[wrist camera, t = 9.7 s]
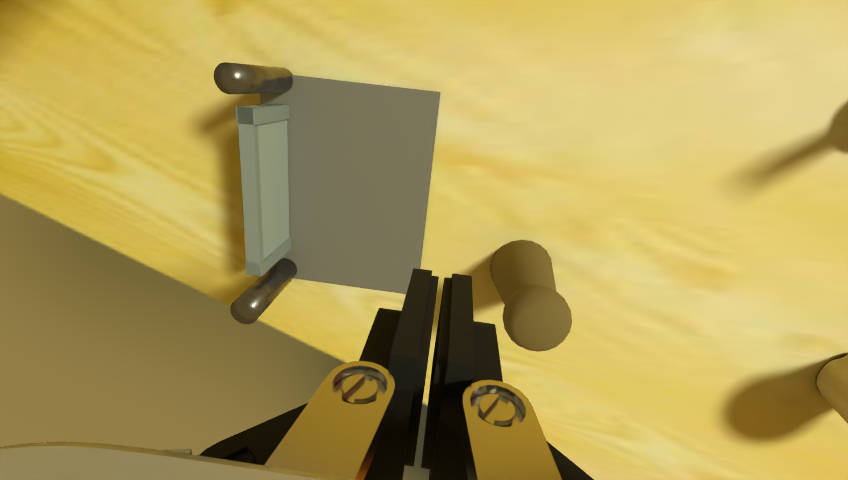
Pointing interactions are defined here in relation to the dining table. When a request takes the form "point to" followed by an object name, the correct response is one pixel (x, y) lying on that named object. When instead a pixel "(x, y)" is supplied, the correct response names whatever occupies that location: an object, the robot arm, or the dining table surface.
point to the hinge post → (252, 79)
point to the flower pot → (835, 385)
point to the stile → (263, 291)
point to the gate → (264, 184)
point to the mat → (357, 180)
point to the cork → (530, 296)
